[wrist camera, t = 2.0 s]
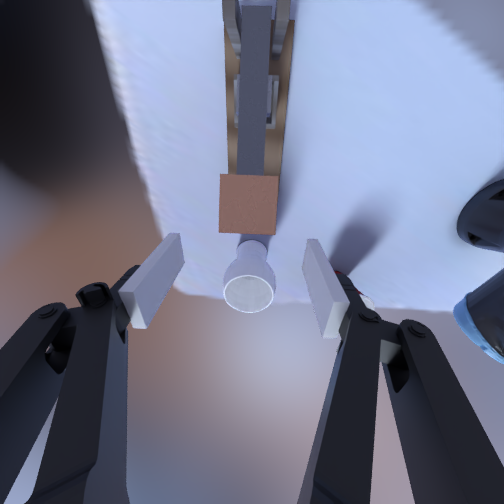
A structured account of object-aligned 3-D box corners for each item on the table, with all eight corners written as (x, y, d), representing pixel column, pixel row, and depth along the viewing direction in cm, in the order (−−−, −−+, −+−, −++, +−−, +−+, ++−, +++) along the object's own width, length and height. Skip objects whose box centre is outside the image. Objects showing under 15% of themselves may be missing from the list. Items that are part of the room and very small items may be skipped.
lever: (231, 33, 24) (224, -14, 19) (282, 35, 23) (288, -13, 19) (225, 232, 26) (218, 232, 21) (272, 234, 26) (275, 235, 21)
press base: (225, 24, 30) (199, -53, 18) (292, 26, 30) (316, -51, 17) (230, 197, 44) (217, 225, 31) (276, 199, 44) (283, 228, 31)
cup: (274, 235, 48) (279, 274, 35) (271, 271, 54) (274, 316, 41) (230, 233, 48) (218, 270, 35) (231, 269, 54) (221, 313, 41)
